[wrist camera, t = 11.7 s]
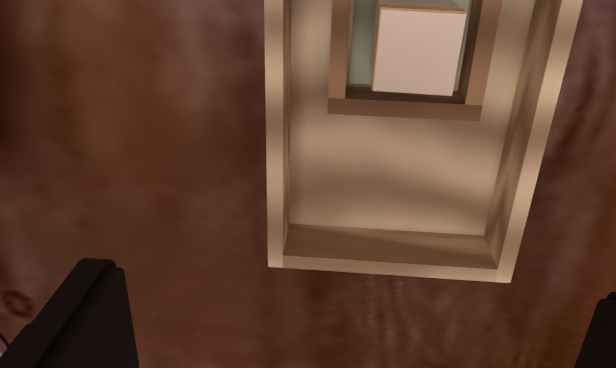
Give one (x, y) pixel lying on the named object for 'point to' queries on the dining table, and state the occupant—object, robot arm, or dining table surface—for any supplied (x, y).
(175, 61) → the dining table surface
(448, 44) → the small white lidded box
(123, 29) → the dining table surface
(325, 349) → the dining table surface
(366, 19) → the walled box
